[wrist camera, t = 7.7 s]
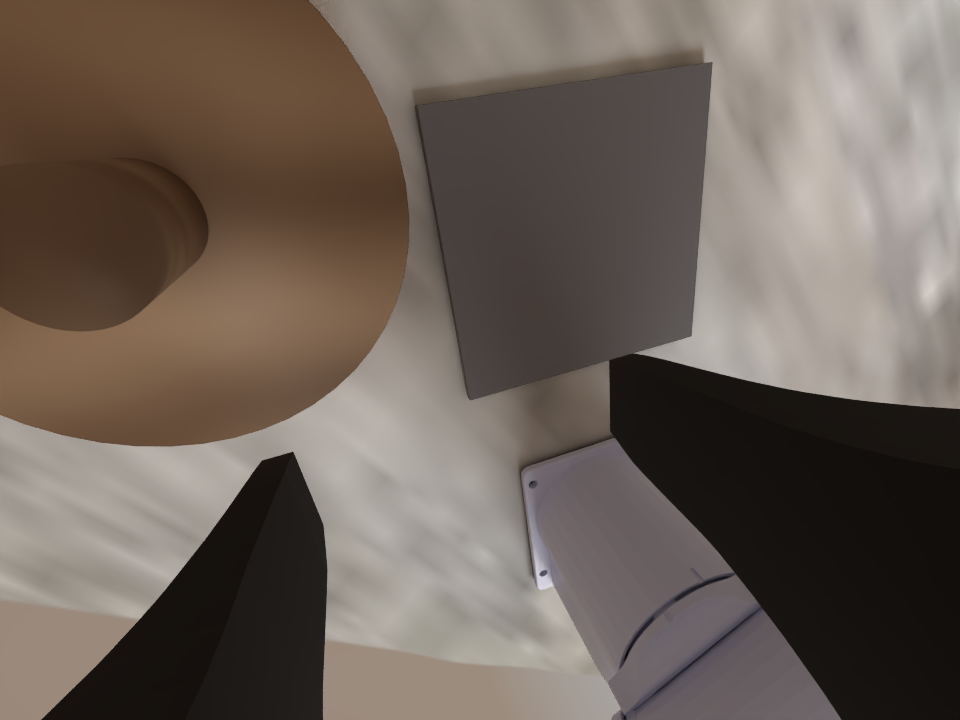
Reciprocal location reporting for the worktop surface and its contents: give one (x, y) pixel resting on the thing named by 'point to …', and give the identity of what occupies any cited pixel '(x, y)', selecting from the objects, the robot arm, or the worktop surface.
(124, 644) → the robot arm
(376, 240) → the lid
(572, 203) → the mat
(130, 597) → the worktop surface
